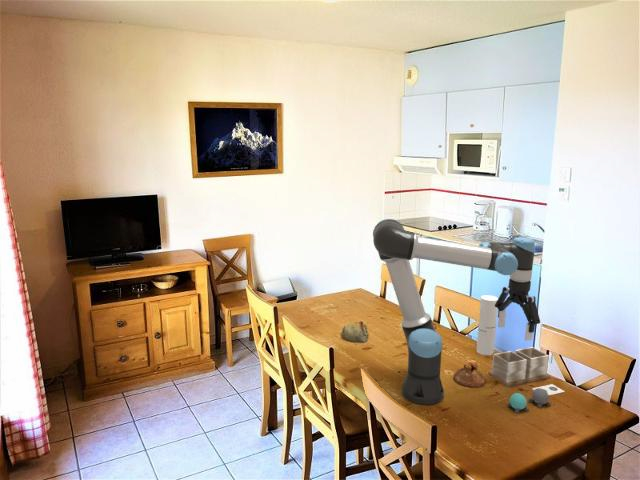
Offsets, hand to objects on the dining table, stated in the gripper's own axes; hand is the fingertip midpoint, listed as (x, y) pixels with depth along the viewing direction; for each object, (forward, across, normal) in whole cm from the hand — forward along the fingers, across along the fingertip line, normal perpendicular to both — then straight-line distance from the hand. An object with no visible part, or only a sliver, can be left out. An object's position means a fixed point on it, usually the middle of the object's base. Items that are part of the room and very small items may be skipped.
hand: (514, 333), depth 191 cm
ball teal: (+20, -16, +12) cm, 28 cm away
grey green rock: (+21, +62, +34) cm, 74 cm away
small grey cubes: (+20, -16, +6) cm, 27 cm away
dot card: (+20, -11, -9) cm, 25 cm away
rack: (+20, +2, -8) cm, 22 cm away
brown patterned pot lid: (+21, +7, +13) cm, 26 cm away
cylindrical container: (+20, +25, -11) cm, 34 cm away
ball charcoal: (+20, -16, +2) cm, 26 cm away
